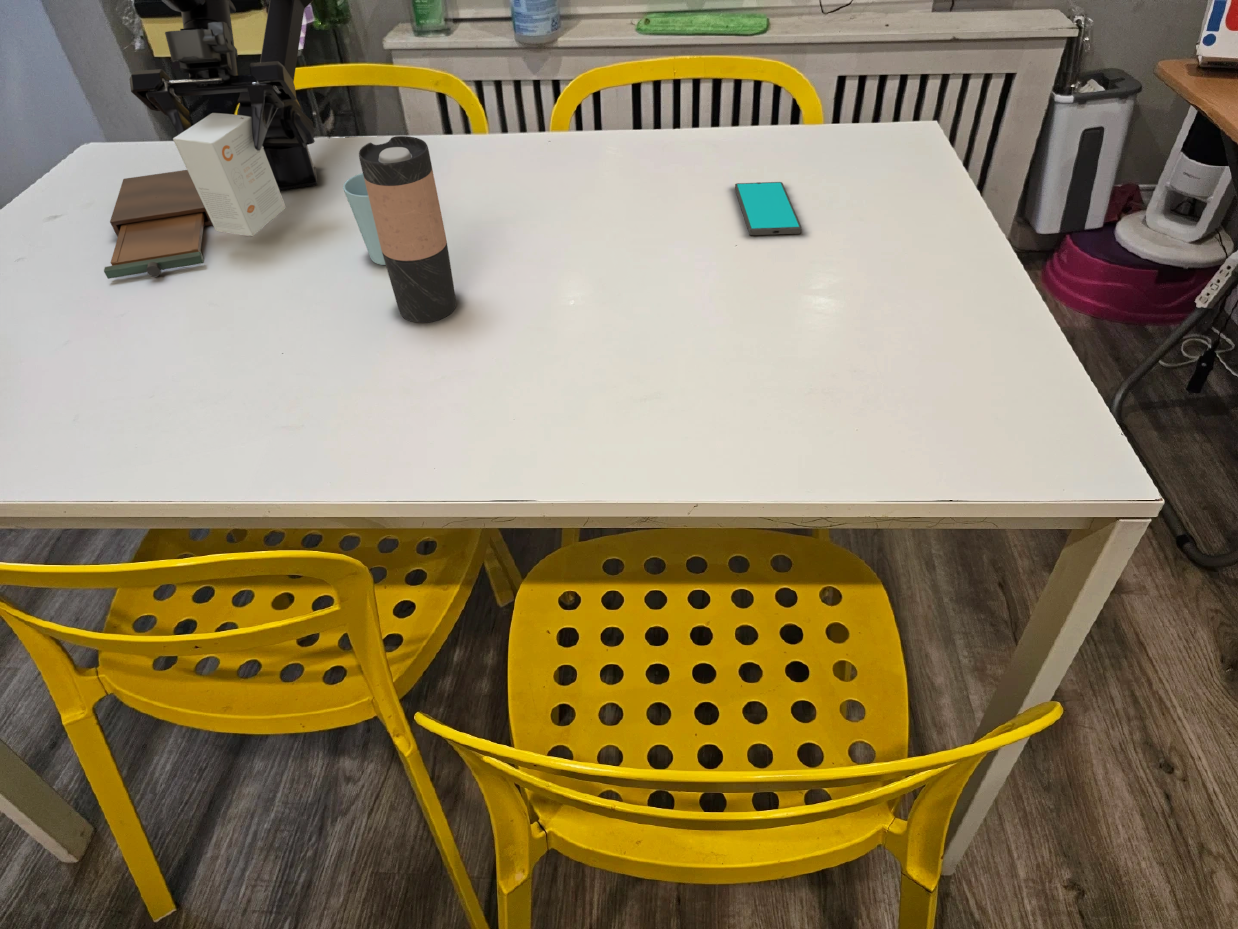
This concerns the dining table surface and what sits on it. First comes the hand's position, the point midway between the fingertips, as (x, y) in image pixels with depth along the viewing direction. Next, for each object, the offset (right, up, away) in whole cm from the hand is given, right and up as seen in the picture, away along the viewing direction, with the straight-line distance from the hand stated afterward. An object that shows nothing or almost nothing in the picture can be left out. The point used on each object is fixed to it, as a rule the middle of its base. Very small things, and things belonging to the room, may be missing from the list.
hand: (223, 152), depth 103 cm
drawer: (-13, -10, +8) cm, 18 cm away
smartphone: (+73, -3, +14) cm, 74 cm away
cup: (+20, -12, +7) cm, 24 cm away
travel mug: (+27, -21, -3) cm, 34 cm away
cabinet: (-17, -2, +19) cm, 25 cm away
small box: (0, -7, +8) cm, 10 cm away
